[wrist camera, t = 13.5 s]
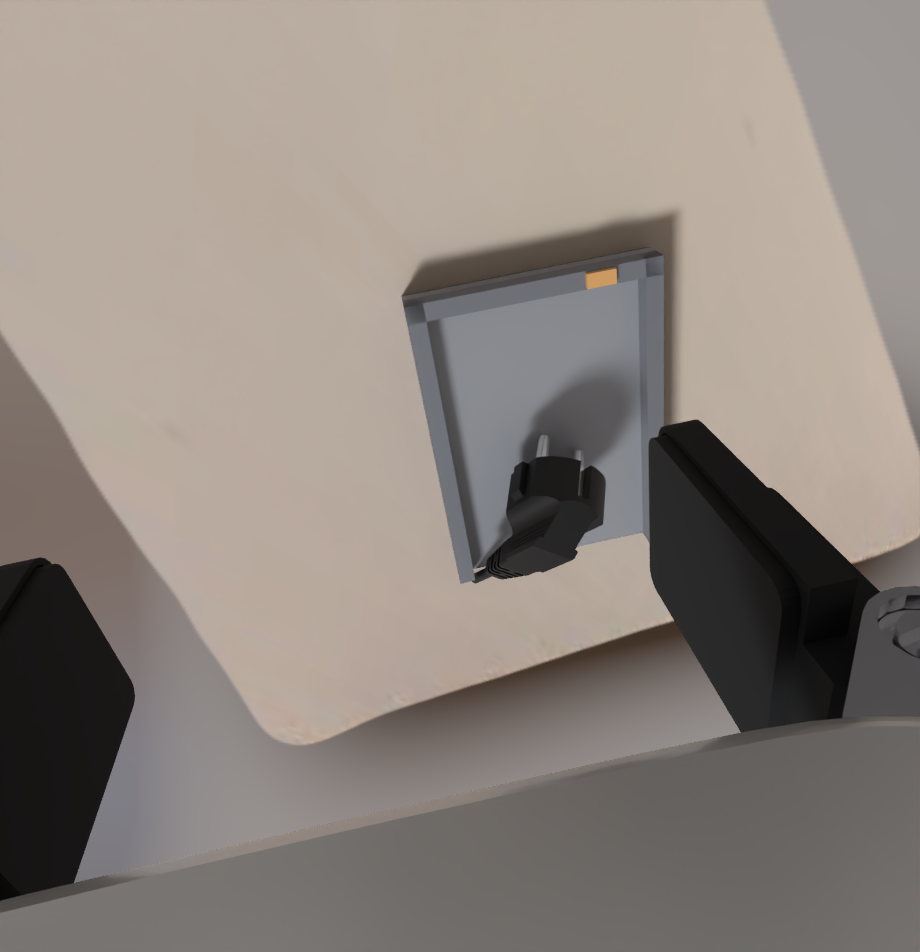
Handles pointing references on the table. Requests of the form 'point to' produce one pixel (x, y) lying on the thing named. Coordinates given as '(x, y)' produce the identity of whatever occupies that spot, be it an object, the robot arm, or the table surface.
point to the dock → (542, 387)
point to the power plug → (547, 513)
